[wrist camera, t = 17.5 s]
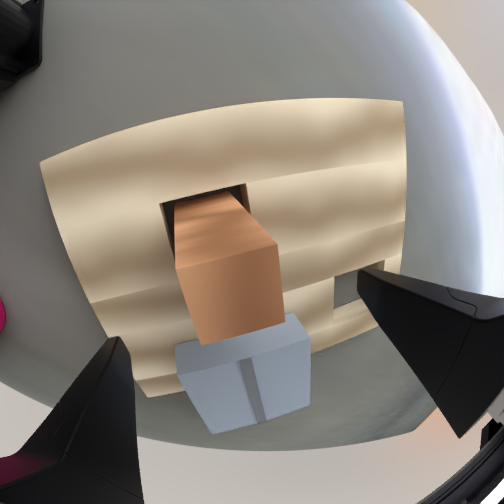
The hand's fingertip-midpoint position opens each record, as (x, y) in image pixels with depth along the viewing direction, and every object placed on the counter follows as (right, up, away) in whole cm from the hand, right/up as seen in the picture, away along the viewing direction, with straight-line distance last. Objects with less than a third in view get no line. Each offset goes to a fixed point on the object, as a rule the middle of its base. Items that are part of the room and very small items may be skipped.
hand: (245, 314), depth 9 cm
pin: (-3, +4, +8) cm, 10 cm away
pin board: (+1, +2, +10) cm, 11 cm away
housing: (0, -7, +12) cm, 14 cm away
